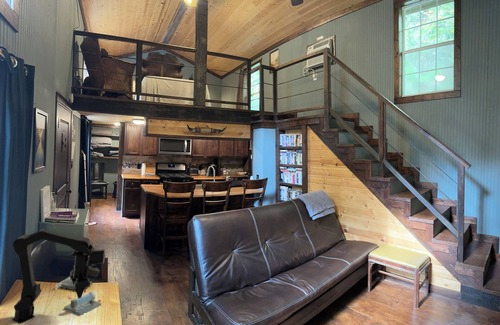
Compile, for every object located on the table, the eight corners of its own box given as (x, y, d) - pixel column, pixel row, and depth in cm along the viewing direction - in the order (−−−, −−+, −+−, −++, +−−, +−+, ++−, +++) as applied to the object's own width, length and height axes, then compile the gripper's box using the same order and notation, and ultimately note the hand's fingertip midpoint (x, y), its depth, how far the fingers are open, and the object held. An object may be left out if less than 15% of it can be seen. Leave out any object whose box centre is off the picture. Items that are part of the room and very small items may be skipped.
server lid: (80, 315, 142) (80, 311, 142) (64, 308, 147) (64, 304, 147) (101, 305, 153) (101, 301, 153) (85, 299, 158) (85, 295, 158)
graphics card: (53, 284, 165) (69, 276, 177) (53, 291, 165) (68, 282, 177) (80, 289, 163) (94, 280, 175) (79, 295, 163) (93, 286, 175)
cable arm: (73, 309, 144) (74, 301, 144) (69, 307, 145) (70, 300, 145) (96, 298, 156) (96, 292, 156) (92, 297, 157) (93, 290, 157)
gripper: (102, 267, 140) (99, 299, 140) (95, 255, 155) (92, 284, 155) (76, 271, 134) (73, 304, 133) (71, 258, 148) (68, 288, 148)
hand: (78, 294), depth 143 cm, fingers open, 8 cm apart
